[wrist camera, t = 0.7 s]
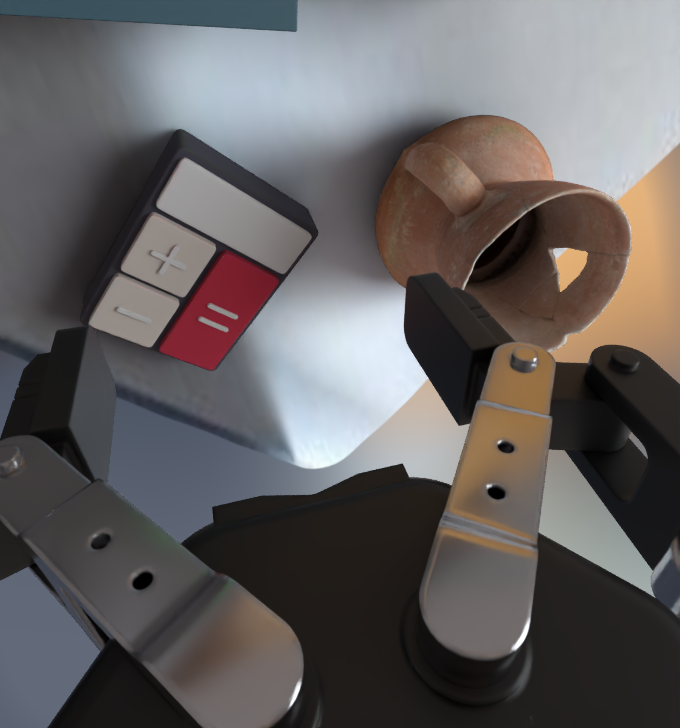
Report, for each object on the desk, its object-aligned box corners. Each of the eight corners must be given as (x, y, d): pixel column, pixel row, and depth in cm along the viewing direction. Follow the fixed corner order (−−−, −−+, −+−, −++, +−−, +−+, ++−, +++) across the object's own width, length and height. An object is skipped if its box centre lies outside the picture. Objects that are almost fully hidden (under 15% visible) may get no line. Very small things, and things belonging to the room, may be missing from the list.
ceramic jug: (558, 207, 46) (679, 288, 36) (431, 313, 50) (507, 415, 40) (463, 29, 35) (600, 72, 25) (308, 183, 39) (370, 277, 28)
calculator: (76, 329, 37) (179, 148, 31) (82, 295, 40) (177, 125, 34) (215, 379, 43) (323, 237, 37) (211, 346, 46) (311, 210, 40)
